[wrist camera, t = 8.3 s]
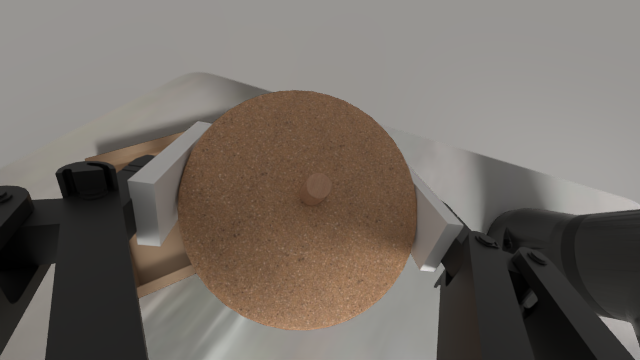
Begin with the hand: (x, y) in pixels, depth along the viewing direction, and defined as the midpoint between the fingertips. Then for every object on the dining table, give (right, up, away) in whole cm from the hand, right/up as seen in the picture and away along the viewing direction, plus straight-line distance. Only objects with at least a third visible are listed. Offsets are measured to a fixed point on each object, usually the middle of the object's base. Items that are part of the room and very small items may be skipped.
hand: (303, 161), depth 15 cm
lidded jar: (-1, -4, +3) cm, 5 cm away
